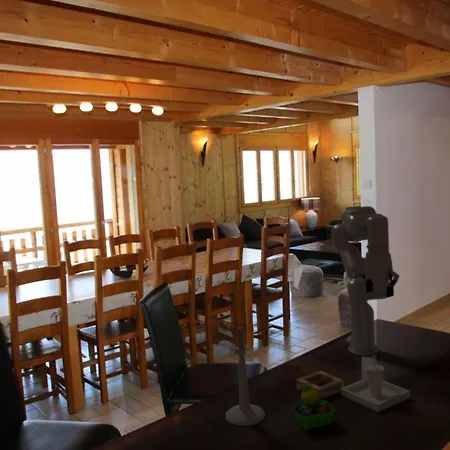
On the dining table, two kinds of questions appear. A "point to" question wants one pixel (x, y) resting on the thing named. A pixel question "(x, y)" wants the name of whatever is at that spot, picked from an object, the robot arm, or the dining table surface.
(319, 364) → the dining table surface
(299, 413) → the fruit basket
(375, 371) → the smoothie
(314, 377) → the holder
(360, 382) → the tray
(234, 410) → the candlestick
